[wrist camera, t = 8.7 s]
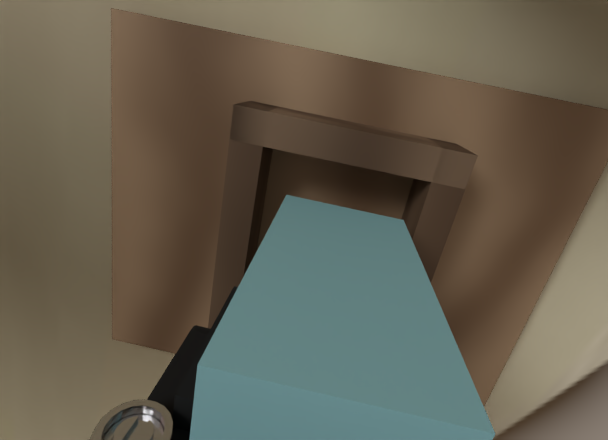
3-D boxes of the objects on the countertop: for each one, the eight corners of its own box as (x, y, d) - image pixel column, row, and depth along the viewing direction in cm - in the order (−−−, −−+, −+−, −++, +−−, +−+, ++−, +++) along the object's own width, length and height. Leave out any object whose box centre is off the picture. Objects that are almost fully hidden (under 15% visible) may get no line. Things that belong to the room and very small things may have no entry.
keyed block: (286, 194, 12) (197, 364, 5) (403, 220, 12) (495, 433, 5) (256, 356, 15) (168, 631, 7) (353, 379, 15) (362, 681, 7)
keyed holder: (122, 327, 21) (81, 373, 18) (125, 12, 15) (65, -7, 12) (470, 405, 20) (494, 467, 17) (612, 112, 15) (690, 121, 11)
